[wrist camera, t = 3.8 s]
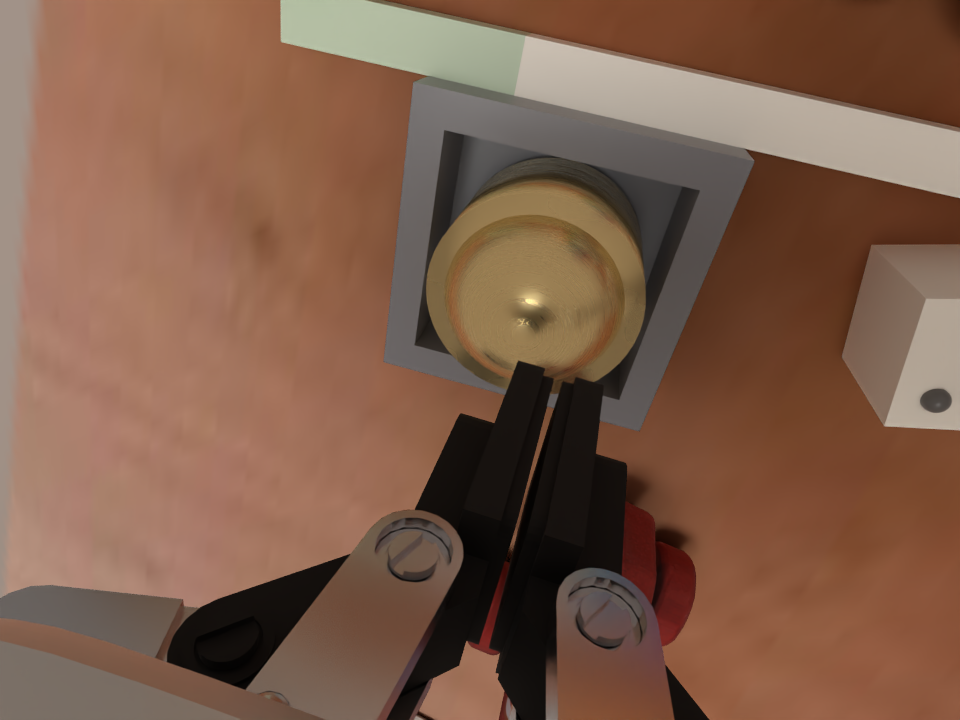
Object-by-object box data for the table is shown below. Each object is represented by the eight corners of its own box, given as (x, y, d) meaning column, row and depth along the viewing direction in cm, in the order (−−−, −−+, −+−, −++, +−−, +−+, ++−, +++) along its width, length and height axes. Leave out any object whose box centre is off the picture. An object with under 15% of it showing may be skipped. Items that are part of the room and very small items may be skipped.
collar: (736, 137, 17) (754, 161, 15) (637, 382, 22) (639, 431, 20) (442, 70, 18) (413, 81, 16) (409, 322, 23) (383, 362, 20)
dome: (669, 183, 18) (686, 252, 13) (610, 350, 21) (606, 455, 16) (475, 137, 18) (421, 187, 13) (447, 307, 21) (395, 397, 16)
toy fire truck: (717, 509, 25) (769, 786, 16) (584, 653, 31) (569, 903, 23) (566, 442, 25) (535, 685, 16) (465, 602, 31) (404, 833, 23)
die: (1022, 243, 17) (1130, 308, 14) (975, 360, 19) (1058, 444, 16) (870, 243, 18) (933, 305, 15) (840, 355, 20) (889, 434, 17)
